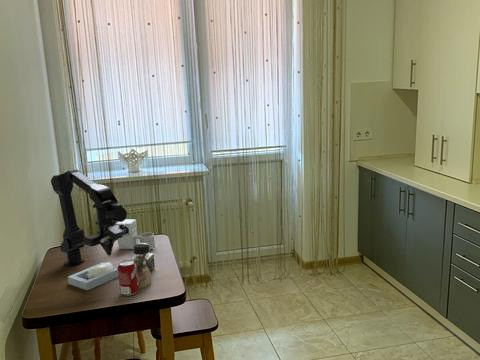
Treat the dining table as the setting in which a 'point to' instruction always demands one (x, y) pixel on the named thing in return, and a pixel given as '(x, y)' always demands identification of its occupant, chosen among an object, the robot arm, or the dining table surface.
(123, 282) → the soda can
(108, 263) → the white bottle
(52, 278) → the dining table surface
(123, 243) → the supplement box
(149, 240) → the mug
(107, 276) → the u rest
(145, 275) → the figurine
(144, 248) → the medicine bottle
